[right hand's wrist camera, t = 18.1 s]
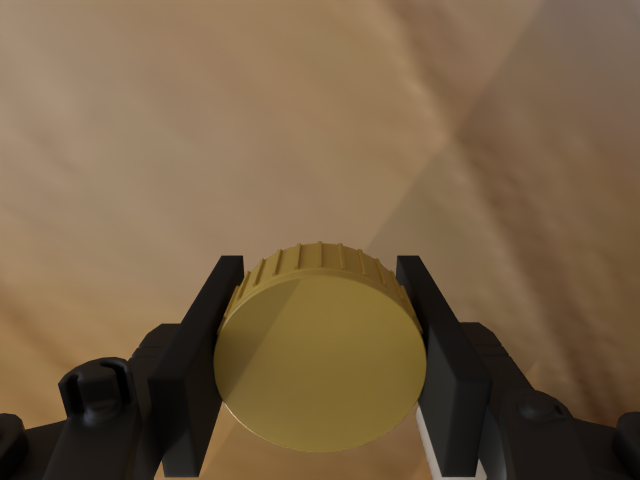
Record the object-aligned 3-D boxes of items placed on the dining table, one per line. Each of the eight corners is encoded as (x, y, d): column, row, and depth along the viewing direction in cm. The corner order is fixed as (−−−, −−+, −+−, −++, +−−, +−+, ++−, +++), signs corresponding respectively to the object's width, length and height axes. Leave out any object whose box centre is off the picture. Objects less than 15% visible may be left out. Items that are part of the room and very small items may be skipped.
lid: (445, 283, 12) (472, 323, 10) (362, 419, 14) (369, 478, 12) (267, 209, 11) (255, 236, 9) (204, 364, 13) (182, 416, 11)
